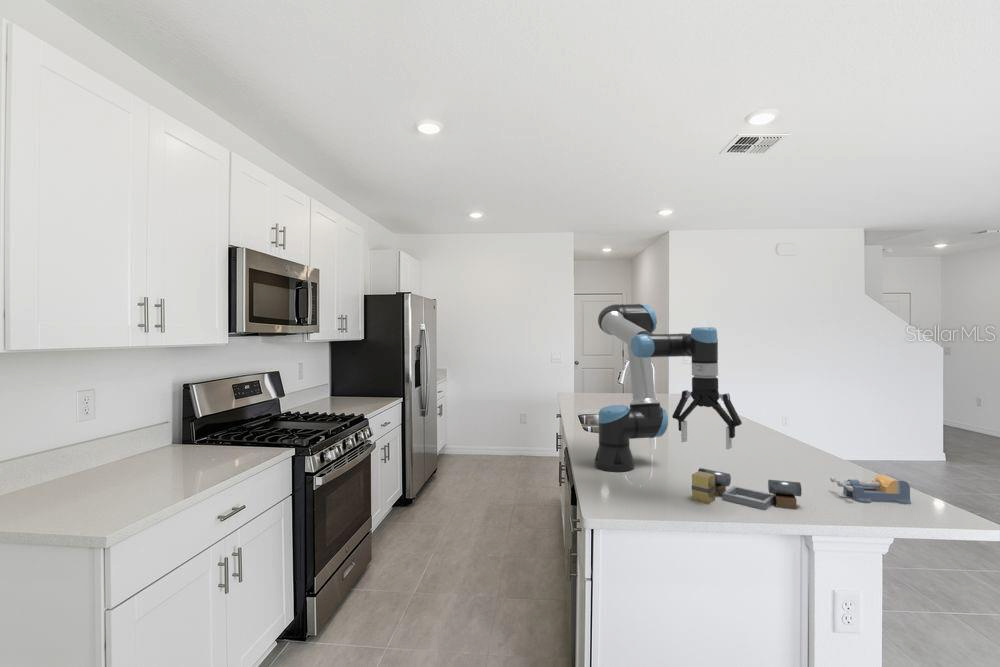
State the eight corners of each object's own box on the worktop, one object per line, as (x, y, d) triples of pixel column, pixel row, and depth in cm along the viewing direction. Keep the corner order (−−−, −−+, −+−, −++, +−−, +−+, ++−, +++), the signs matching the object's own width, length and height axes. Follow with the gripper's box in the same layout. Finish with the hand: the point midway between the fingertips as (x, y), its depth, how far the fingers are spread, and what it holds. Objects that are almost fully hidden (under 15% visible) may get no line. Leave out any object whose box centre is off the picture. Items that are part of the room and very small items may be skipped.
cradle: (722, 499, 143) (722, 493, 143) (734, 492, 150) (734, 486, 150) (765, 510, 135) (765, 503, 135) (775, 501, 141) (775, 495, 141)
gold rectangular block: (691, 500, 144) (691, 474, 144) (699, 496, 147) (698, 470, 147) (708, 504, 140) (708, 478, 140) (715, 500, 143) (715, 474, 143)
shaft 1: (696, 491, 151) (696, 470, 151) (704, 487, 155) (703, 466, 155) (724, 498, 145) (724, 475, 145) (732, 493, 149) (731, 471, 149)
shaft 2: (771, 506, 137) (770, 482, 137) (767, 499, 143) (767, 476, 143) (802, 509, 134) (802, 485, 134) (797, 502, 140) (797, 479, 140)
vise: (890, 493, 147) (890, 472, 147) (915, 505, 137) (915, 483, 137) (829, 491, 149) (828, 471, 149) (849, 503, 139) (848, 481, 139)
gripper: (661, 375, 150) (662, 440, 150) (744, 379, 133) (745, 453, 132) (671, 373, 155) (672, 436, 155) (752, 377, 138) (753, 449, 138)
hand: (705, 444), depth 144 cm, fingers open, 13 cm apart
